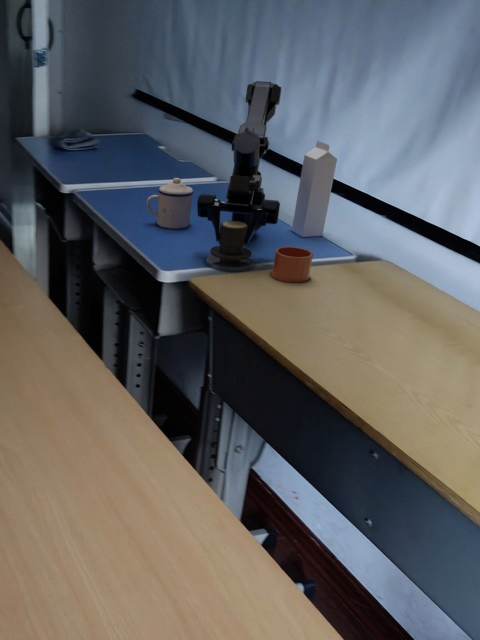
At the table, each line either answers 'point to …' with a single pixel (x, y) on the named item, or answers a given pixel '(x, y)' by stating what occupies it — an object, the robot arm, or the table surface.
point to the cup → (292, 264)
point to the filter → (232, 242)
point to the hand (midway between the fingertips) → (231, 242)
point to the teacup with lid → (173, 205)
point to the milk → (314, 191)
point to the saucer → (219, 265)
